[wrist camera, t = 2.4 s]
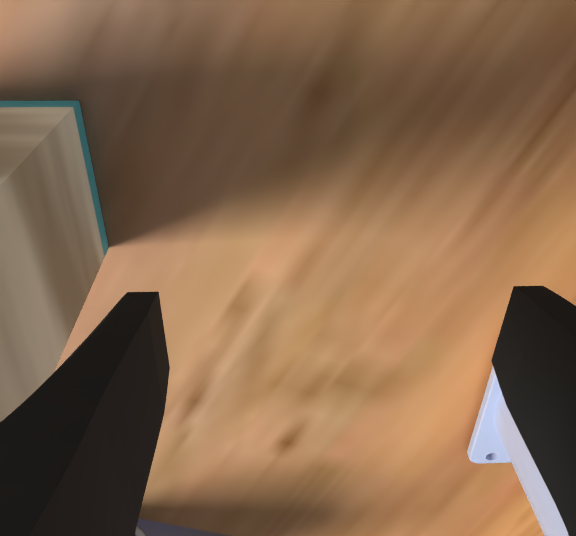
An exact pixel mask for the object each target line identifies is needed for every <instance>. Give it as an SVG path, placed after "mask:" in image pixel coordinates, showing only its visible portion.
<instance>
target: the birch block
mask: <svg viewBox="0 0 576 536" xmlns="http://www.w3.org/2000/svg"><path fill="white" fill-rule="evenodd" d="M108 248H109V247H108V242H107V237H106V232H105V227H104V222H103V217H102V212H101V207H100V202H99V197H98V192H97V187H96V182H95V177H94V172H93V167H92V162H91V157H90V152H89V147H88V142H87V137H86V132H85V127H84V122H83V117H82V112H81V107H80V102H79V101H0V422H1V421H2V420H4V419H5V418H6V417H7V416H8V415H9V414H11V413H12V412H13V411H14V410H15V409H16V408H17V407H18V406H20V405H21V404H22V403H23V402H24V401H25V400H26V399H27V398H28V397H29V396H30V395H32V394H33V393H34V392H35V391H36V390H37V389H38V388H39V387H40V386H41V385H42V384H43V383H44V382H45V381H46V380H47V379H48V378H49V377H50V376H51V375H52V374H53V372H54V370H55V368H56V366H57V363H58V361H59V359H60V357H61V354H62V352H63V350H64V348H65V345H66V343H67V341H68V338H69V336H70V334H71V332H72V329H73V327H74V325H75V323H76V320H77V318H78V316H79V314H80V311H81V309H82V307H83V305H84V302H85V300H86V298H87V296H88V293H89V291H90V289H91V286H92V284H93V282H94V280H95V277H96V275H97V273H98V271H99V268H100V266H101V264H102V262H103V259H104V257H105V255H106V253H107V250H108Z"/></svg>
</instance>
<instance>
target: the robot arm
mask: <svg viewBox="0 0 576 536" xmlns="http://www.w3.org/2000/svg"><path fill="white" fill-rule="evenodd" d="M492 364H493V367H492V371H491V374H490V377H489V381H488V384H487V387H486V391H485V394H484V397H483V401H482V404H481V407H480V411H479V414H478V417H477V421H476V424H475V427H474V431H473V434H472V437H471V441H470V444H469V447H468V451H467V454H468V456H469V459H470V460H471V461H472V462H474V463H506V462H511V463H512V465H513V467H514V469H515V471H516V474H517V476H518V478H519V480H520V482H521V485H522V487H523V489H524V491H525V493H526V496H527V498H528V500H529V502H530V504H531V507H532V509H533V511H534V513H535V515H536V518H537V520H538V522H539V524H540V527H541V529H542V531H543V533H544V535H545V536H576V306H575V305H573V304H572V303H570V302H569V301H567V300H565V299H564V298H562V297H561V296H559V295H558V294H556V293H554V292H553V291H551V290H549V289H548V288H546V287H544V286H514V287H513V291H512V294H511V297H510V301H509V304H508V307H507V311H506V314H505V317H504V321H503V324H502V327H501V331H500V334H499V337H498V341H497V344H496V347H495V351H494V354H493V357H492ZM169 368H170V367H169V360H168V354H167V347H166V340H165V333H164V326H163V320H162V313H161V306H160V299H159V292H127V293H126V294H125V295H124V296H123V297H122V298H121V300H120V301H119V302H118V303H117V304H116V305H115V306H114V308H113V309H112V310H111V311H110V312H109V313H108V315H107V316H106V317H105V318H104V319H103V320H102V321H101V323H100V324H99V325H98V326H97V327H96V328H95V329H94V331H93V332H92V333H91V334H90V335H89V336H88V337H87V338H86V339H85V341H84V342H83V343H82V344H81V345H80V346H79V347H78V348H77V349H76V350H75V351H74V352H73V353H72V355H71V356H70V357H69V358H68V359H67V360H66V361H65V362H64V363H63V364H62V365H61V366H60V367H59V368H58V369H57V370H56V371H55V372H54V373H53V374H52V375H51V376H50V377H49V378H48V379H47V380H46V381H45V382H44V383H43V384H42V385H41V386H40V387H39V388H38V389H37V390H36V391H35V392H34V393H33V394H32V395H30V396H29V397H28V398H27V399H26V400H25V401H24V402H23V403H22V404H21V405H20V406H18V407H17V408H16V409H15V410H14V411H13V412H12V413H11V414H9V415H8V416H7V417H6V418H5V419H4V420H2V421H1V422H0V536H135V532H136V527H137V522H138V517H139V513H140V509H141V505H142V501H143V497H144V493H145V489H146V485H147V481H148V477H149V473H150V469H151V465H152V461H153V457H154V453H155V449H156V445H157V440H158V436H159V432H160V428H161V424H162V420H163V415H164V410H165V402H166V394H167V386H168V377H169Z"/></svg>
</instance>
